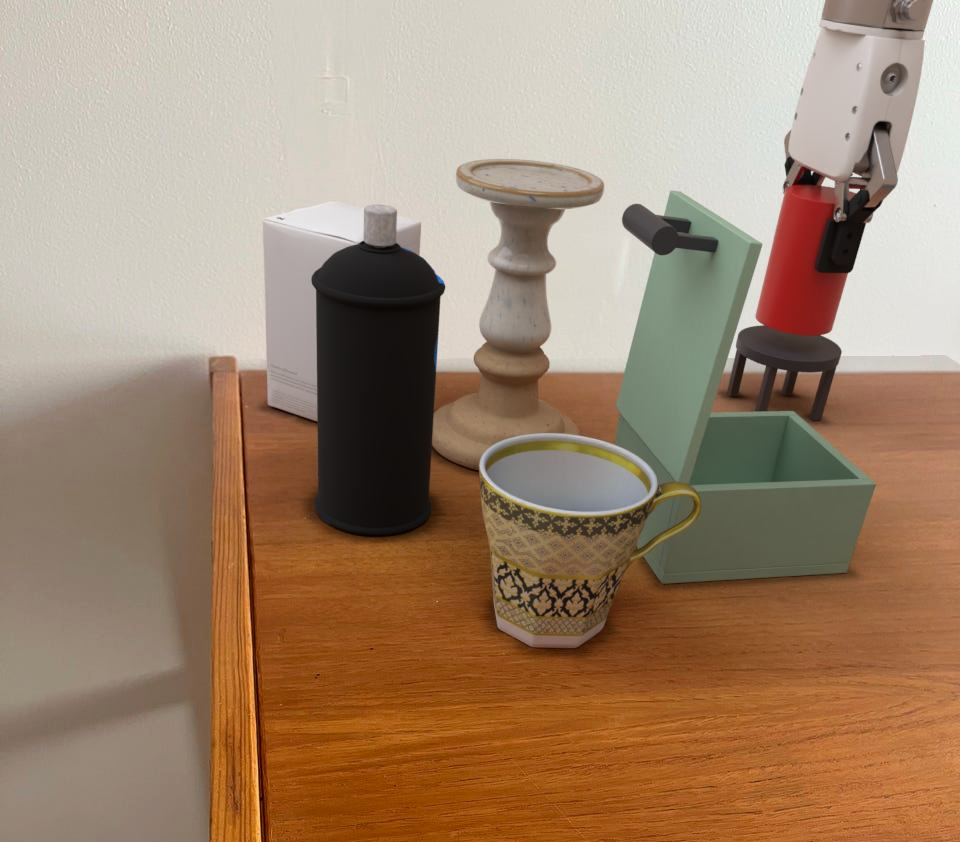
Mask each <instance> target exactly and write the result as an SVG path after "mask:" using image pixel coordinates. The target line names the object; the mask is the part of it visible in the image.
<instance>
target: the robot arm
mask: <svg viewBox="0 0 960 842" xmlns="http://www.w3.org/2000/svg"><path fill="white" fill-rule="evenodd" d="M933 3H934V0H824V4H823V8H822V13H821V17H820V21H819V27H820V31H819V33H818V37H817V39H816V41H815V45H814V48H813V50H812V53H811V56H810V59H809V63H808V66H807V68H806V71H805V75H804V79H803V83H802V86H801V90H800V93H799V95H798V96H799V97H798V100H797V104H796V107H795V111H794V116H793V119H792V124H791V129H790V130H789V131H788V132H787V134H785V136H784V139H783V145H784V146H783V147H784V154H785V162H784V165H783V166H784V172H785V176H786V177H785V179H784V182H783V184H782V194H783V195H784V194H785V190H786V188H787V187H789V186H792V185H817V186H823V183H824V181H825V179H826V178H827V179H828V180H830V181H834V188H835V192H834V219H827V222H826V226H825V229H824V233H823V237H822V241H821V244H820V248H819V252H818V256H817V259H816V263H815V270H817V271H818V272H820V273H848V274H850V273H851V272H852V271H853V270H854V267H855V263H856V260H857V257H858V253H859V249H860V247H861V242H862V240H863V235H864V232H865V229H866V225H867V224H870V223H871V221H872V220H873V217H874V213H875V212H876V211H877V210H878V209H879V208H880V207H881V206H882V203H883V202H884V200H885V199H886V198H887V197H888V196H889V195H890V194H891V192H892V191H893V190H894V189H896V187H897V185H898V181H899V177H898V172H899V169H900V166H901V163H902V159H903V156H904V151H905V148H906V144H907V141H908V136H909V133H910V128H911V124H912V120H913V117H914V111H915V107H916V102H917V97H918V93H919V87H920V83H921V77H922V69H923V63H924V53H925V40H924V39H923V37H924V34H925V30H926V27H927V23H928V20H929V17H930V13H931V11H932V6H933ZM853 175H858V176H853ZM850 190H858V191H857V192H855V193H856V194H855V195H854V196H853V197H852V198H851V200H850V201H849V191H850ZM781 207H782V205H781V206H780V208H781ZM780 211H781V209H780ZM780 211H779V212H780ZM779 215H780V213H779ZM779 215H778V216H779ZM778 219H779V217H778ZM778 219H777V220H778ZM776 228H777V226H776V227H775V229H776ZM775 232H776V230H775ZM775 232H774V233H775ZM774 236H775V234H774ZM774 236H773V237H774ZM773 240H774V238H773ZM773 240H772V241H773Z"/></svg>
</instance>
